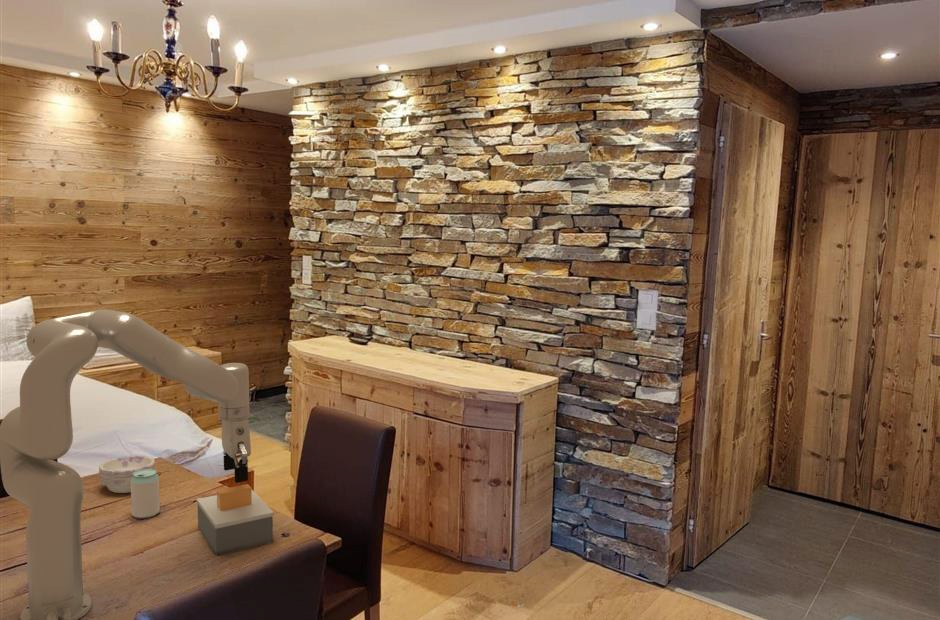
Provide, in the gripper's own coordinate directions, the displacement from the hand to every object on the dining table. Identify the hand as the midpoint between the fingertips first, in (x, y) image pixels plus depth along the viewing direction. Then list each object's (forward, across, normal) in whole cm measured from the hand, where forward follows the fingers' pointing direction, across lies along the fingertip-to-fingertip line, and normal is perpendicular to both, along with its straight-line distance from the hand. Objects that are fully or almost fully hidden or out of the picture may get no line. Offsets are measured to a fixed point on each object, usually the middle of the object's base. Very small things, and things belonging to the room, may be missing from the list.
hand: (235, 475), depth 176 cm
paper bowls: (+16, +48, +19) cm, 54 cm away
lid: (+10, 0, +1) cm, 10 cm away
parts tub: (+16, 0, +1) cm, 16 cm away
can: (+16, +25, +18) cm, 34 cm away
